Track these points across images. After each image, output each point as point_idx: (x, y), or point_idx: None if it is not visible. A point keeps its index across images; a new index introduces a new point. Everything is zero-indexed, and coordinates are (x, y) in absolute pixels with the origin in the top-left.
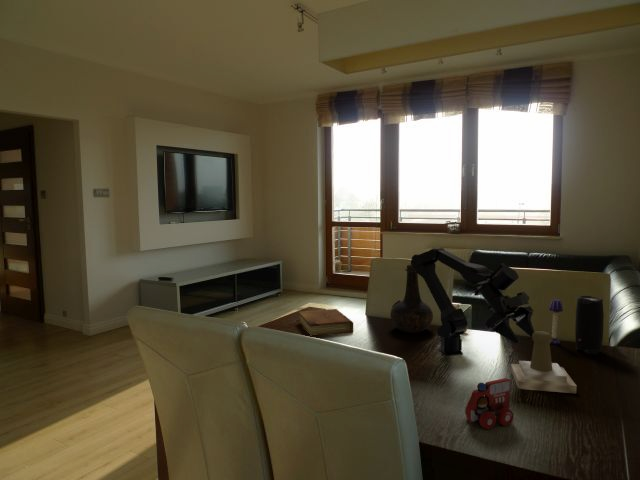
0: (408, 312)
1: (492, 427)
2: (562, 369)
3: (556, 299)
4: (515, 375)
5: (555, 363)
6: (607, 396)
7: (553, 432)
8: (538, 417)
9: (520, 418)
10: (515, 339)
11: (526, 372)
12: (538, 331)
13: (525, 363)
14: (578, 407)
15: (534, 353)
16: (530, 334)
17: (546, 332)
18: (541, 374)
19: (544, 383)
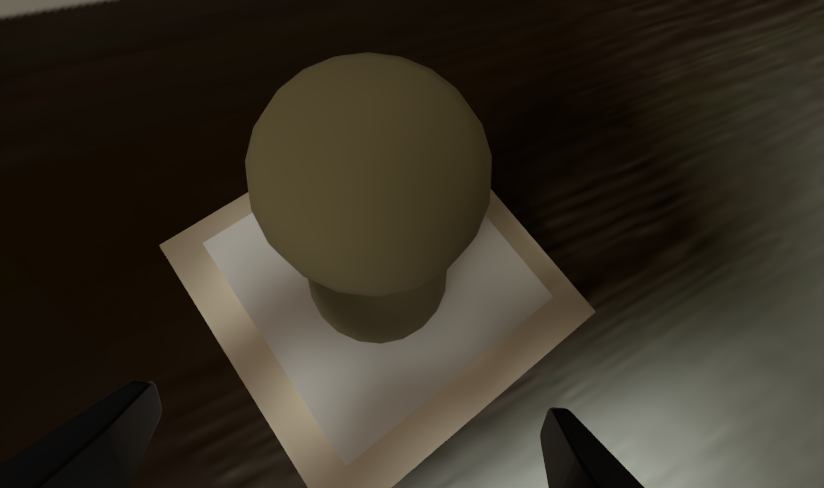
0: None
1: None
2: (205, 229)
3: None
4: (506, 385)
5: (215, 249)
6: (339, 33)
7: (790, 58)
8: (747, 129)
9: (815, 166)
10: (594, 451)
11: (532, 297)
12: (373, 186)
13: (370, 393)
14: (539, 69)
15: (440, 274)
16: (125, 466)
17: (335, 87)
18: (488, 221)
19: (504, 206)
